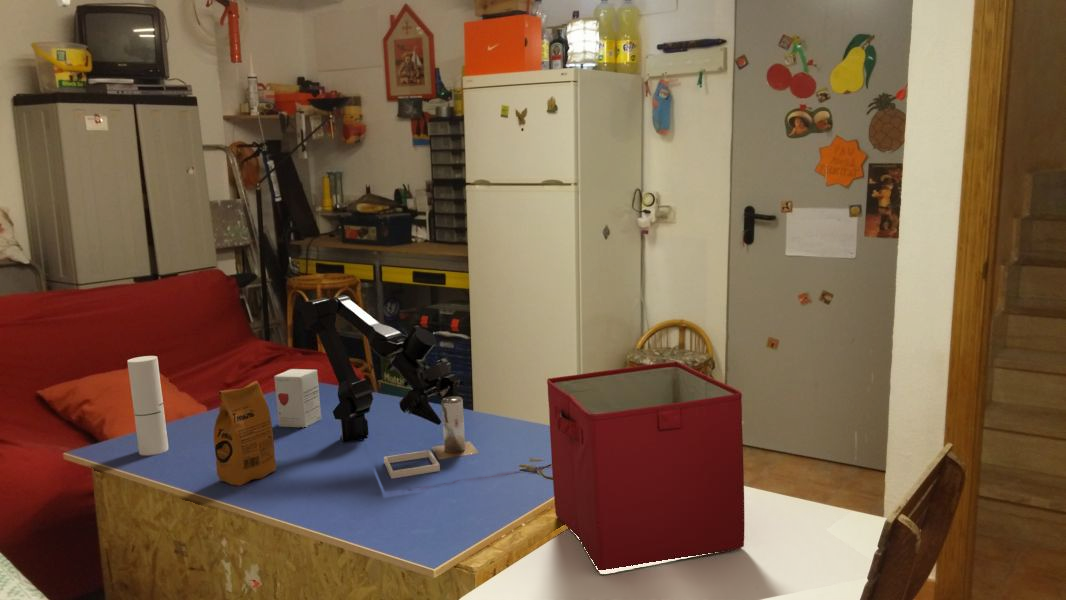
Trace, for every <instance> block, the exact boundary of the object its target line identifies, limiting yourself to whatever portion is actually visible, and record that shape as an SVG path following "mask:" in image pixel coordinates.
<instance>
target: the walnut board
mask: <svg viewBox="0 0 1066 600" xmlns="http://www.w3.org/2000/svg"><path fill="white" fill-rule="evenodd" d="M430 447H431V450H432V451H433V453H434V454H435V455H436V457H437V459H438V460H446V459H452V458H458V457H465V456H471V455H479V454H480V452H479V451H478V449H477V448H476V447H475V445H474V444H473V443H472V442H471V441H470V440H469V441H465V451H463V452H461V453H454V454H452V453H446V452H445V451H444V444H443V445H436V446H430Z"/></svg>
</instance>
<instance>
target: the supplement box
mask: <svg viewBox="0 0 1066 600" xmlns="http://www.w3.org/2000/svg"><path fill="white" fill-rule="evenodd" d="M318 374H319V373H318V370H317V369H307V368H306V369H305V368H304V369H303V368H302V369H300V368H290V369H287V370H286V371H283V372H281V373H278V374H276V375H274V377H273V378H274V388H275V399H276V408H277V418H278V427H284V428H286V427H287V428H300V427H302V428H303V429H304V427H306V428H307V427H309V425H310V426H311V425H313V424H315V423H317V422H318V421H321V420H322V411H321V410H322V409H321V402H320V401H321V400H320V391H319V390H320V387H319V376H318Z"/></svg>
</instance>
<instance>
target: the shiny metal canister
mask: <svg viewBox="0 0 1066 600" xmlns="http://www.w3.org/2000/svg"><path fill="white" fill-rule="evenodd" d="M440 401H441V400H440ZM463 401H464V400H463V398H462V397H461V396H458V397H456V396H452V397H446V398H443V399H442V401H441V404H440V405H441V417H442V420H441V421H442V432H443V434H442V435H443V445H444V451H445V452H446V453H452V454H454V453H461V452H463V451H465V442H466V438H465V437H466V436H465V435H466V434H465V420H464V419H465V418H464V402H463Z"/></svg>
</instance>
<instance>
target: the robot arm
mask: <svg viewBox="0 0 1066 600" xmlns="http://www.w3.org/2000/svg"><path fill="white" fill-rule="evenodd" d="M300 313H301V316H302V318H303V320H304V322H305V323H306V325H307V327H309V329H311V330H312V331H313V332H314V333H315V334H316V335H317V336H318V338H319V340H320V343H321V345H322V347H323V350H324V352H325V354H326V357H327V359H328V361H329V365H330V366H331V368H332V371H333V373H334V375H335V378H336V380H337V383H338V389H337V397H338V401H339V403H338V404H337V406H336V407H335V408H334V409H333V410H332V414H333V418H334V419H335V420H340V429H341V430H340V431H341V434H340V438H341V440H342V443H350V442H357V441H363V440H365V439H368V438H369V437H368V436H369V423H368V419H367V418H366V414H368V413H370V411H371V406H372V403H373V400H374V396H373V394H374V393H373V392H374V391H373V390H372V388H371V387H370V383H369V381H368V379H366V378H364V379H361V378H360V377H358V376H357V374H356V372H355V369H354V367H353V365H352V363H351V360H350V358H349V355H348V353H347V351H346V348H345V346H344V344H343V341H342V338H341V337H340V335H339V332H338V329H337V328H336V327H337V320H338V319H337V318H338V316H337V315H339V316H340V317H341V318H342V319H343V320H344V321H345V322H347V323H348V324H350V326H352V327H353V328H354V329H356V330H357V331H358V332H359V333H360V334H362V335H363V336H364V337H365V338H366V339H367V341H368V344H369V347H370V348H371V349H372V351H374V352H375V353H376V354H377V355H378V356H379V357H381V358H384V357H388V356H392V355H394V356H393V358H389V359H387V366H386V370H387V371H389V372H390V371H393V370H396V371H397V372H398V373H399V375H400V376H401V378H403V380H404V381H405V382H404V383H403V386H404V387H405V388H407V387H409V388H411V390H408V391H407V392H406V394H404V396H403V397H402V398H401V400H400V401H399V403H398V405H399V409H400V410H401V411H402V412H403V414H406V413H408V415H414V416H416V417H419V418H422V419H424V420H426V421H429V422H431V423H433V424H435V425H437V426H439V425H441V424H442V420H441V419H440V417H439V415H438V414H437V412H435V410H434V409H433V407H432V406H431V405H430V402H429V397H432V396H435V395H436V396H437V397H439V398H440V401H442V399H443V398H446V397H452V396H456V397H459V395H458V387H459V385H460V382H461V379H460V378H459V376H458V375H456V374H451V371H450V370H451V369H452V364H451V362H450V361H448V359H446V358H445V357H444V358H442V359H440V360H437V362H436V364H434V365H432V366H429V365H423V364H422V363H421V362H420V361H421V360H424V359H425V357H427V355H428V354H429V353H430V352H431V350H432V349H433V347H434V346H435V345H436V343H437V339H436V336H435V335H434V333H433V332H430V331H429V330H428V329H425V328H421V326H420V325H415V326H413V327H412V328H411V329H410V332H409V333H408V335H404V334H403V333H402V332H401V331H399V330H398V329H396V328H394V327H391V326H389V325H385V324H382V323H380V322H379V321H378V320H376V319H375V318H373V317H372V316H371V315H370V314H369V313H367V312H366V311H365V310H363V308H361V307H359V305H357V304H356V303H355V302H354V301H352V300H351V298H350V297H349V296H348V295H339V296H334V297H331V298H330V299H329V298H327V297H321V298H317V299H312V300H308V301H305V302H304V303H303V304H302V307H301V310H300ZM445 375H446V376H445ZM441 377H443V378H441Z"/></svg>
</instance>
